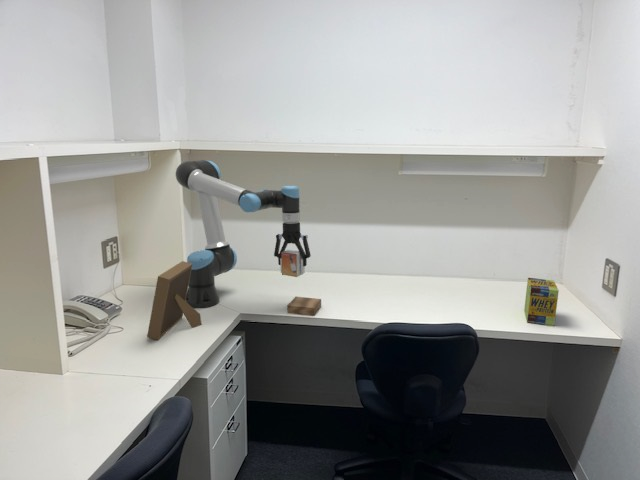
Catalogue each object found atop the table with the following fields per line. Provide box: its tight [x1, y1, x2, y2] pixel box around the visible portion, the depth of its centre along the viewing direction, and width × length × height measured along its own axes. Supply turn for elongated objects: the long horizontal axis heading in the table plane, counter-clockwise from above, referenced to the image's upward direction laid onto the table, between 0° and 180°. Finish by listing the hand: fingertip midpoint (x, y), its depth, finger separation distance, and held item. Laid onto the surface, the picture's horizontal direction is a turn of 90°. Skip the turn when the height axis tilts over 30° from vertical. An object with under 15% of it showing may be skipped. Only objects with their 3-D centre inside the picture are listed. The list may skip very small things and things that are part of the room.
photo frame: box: [146, 260, 202, 341], centre depth 176 cm, size 15×22×25 cm
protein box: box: [523, 277, 559, 327], centre depth 192 cm, size 10×15×16 cm
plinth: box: [287, 296, 322, 317], centre depth 200 cm, size 12×12×4 cm
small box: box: [281, 249, 303, 278], centre depth 198 cm, size 8×6×10 cm
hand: (292, 272), depth 199 cm, fingers closed on small box, 9 cm apart
